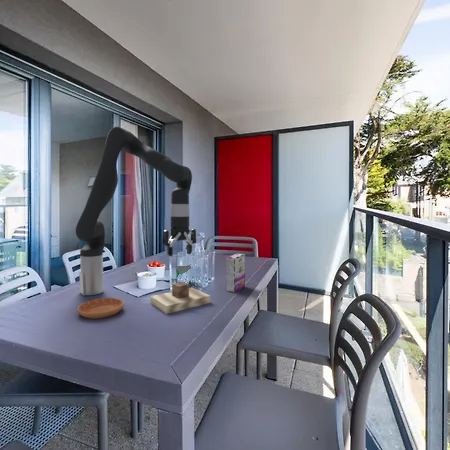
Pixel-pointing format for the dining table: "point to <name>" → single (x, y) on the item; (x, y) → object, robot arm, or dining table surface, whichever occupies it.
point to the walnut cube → (180, 290)
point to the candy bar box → (235, 272)
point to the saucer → (100, 308)
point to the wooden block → (179, 301)
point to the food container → (182, 269)
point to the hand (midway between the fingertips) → (179, 255)
